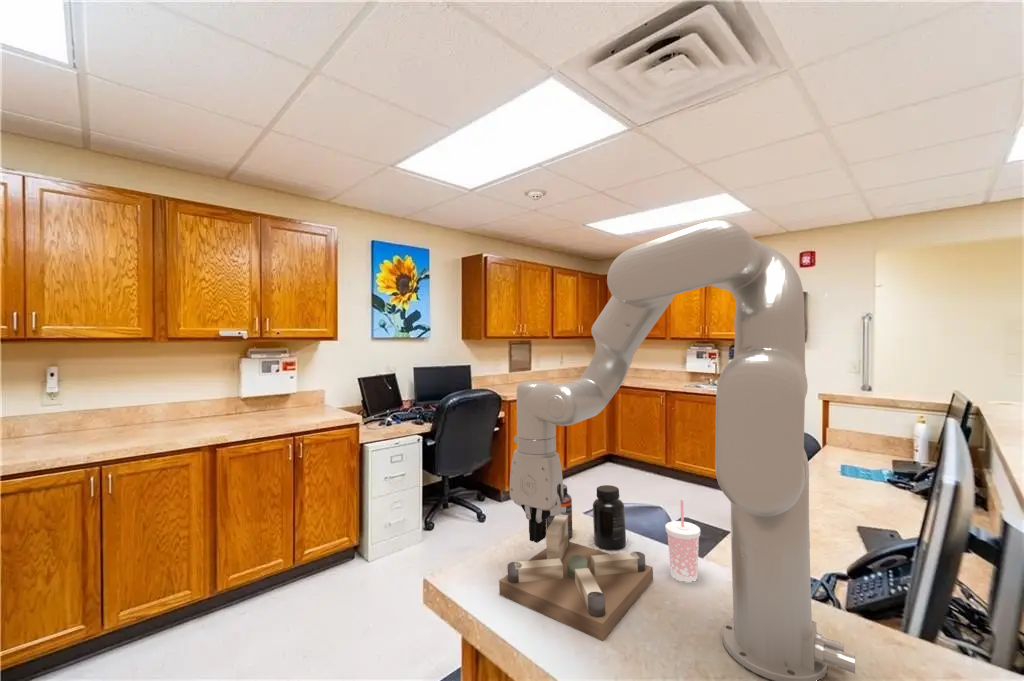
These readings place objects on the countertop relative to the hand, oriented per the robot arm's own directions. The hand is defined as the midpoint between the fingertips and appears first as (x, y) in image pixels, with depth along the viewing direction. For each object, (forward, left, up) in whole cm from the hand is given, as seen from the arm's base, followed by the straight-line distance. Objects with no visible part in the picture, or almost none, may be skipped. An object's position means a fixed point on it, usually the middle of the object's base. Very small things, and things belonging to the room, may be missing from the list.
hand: (537, 539), depth 84 cm
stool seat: (-9, +1, -6) cm, 11 cm away
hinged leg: (-2, -4, -3) cm, 6 cm away
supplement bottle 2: (-6, -18, -6) cm, 20 cm away
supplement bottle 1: (+5, -15, -6) cm, 17 cm away
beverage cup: (-23, -14, -6) cm, 28 cm away
